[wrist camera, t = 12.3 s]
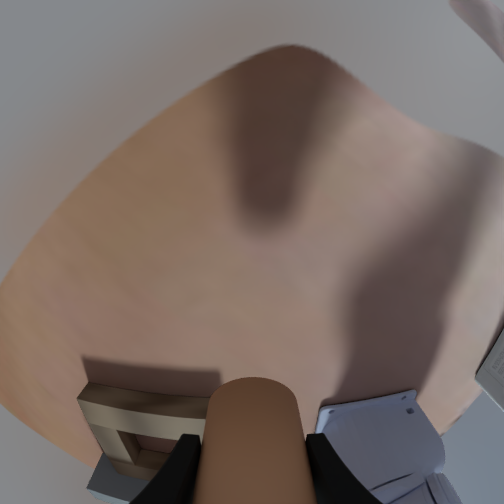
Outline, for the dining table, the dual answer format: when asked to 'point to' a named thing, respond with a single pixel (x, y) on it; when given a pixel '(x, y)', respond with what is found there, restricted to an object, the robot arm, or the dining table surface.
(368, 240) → the dining table surface
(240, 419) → the dowel
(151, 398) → the socket block
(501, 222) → the dining table surface
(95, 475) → the wall
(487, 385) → the rounded grey-white block
